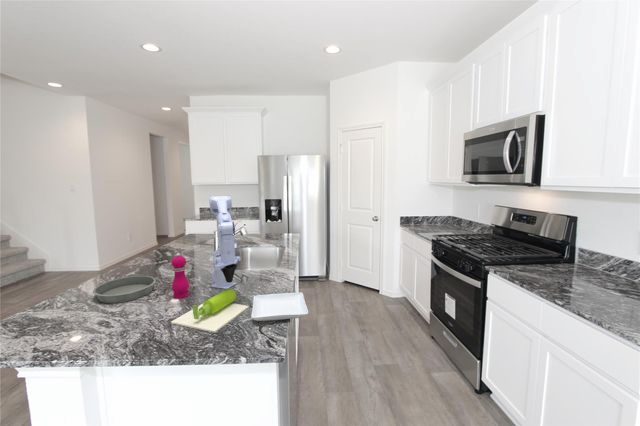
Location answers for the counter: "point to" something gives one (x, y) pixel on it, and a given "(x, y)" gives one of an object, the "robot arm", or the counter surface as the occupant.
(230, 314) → the mat
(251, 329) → the counter surface
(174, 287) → the pepper mill
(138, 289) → the cake pan
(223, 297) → the soap dispenser
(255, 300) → the salad plate
